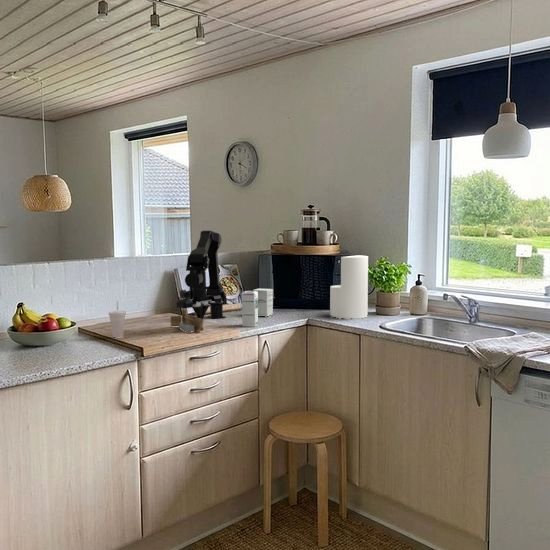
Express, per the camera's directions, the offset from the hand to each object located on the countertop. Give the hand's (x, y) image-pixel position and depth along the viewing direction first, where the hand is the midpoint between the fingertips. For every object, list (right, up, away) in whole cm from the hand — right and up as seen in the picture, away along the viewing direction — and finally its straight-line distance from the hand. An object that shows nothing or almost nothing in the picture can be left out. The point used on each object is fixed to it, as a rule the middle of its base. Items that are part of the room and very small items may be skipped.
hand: (200, 322), depth 227 cm
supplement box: (+25, 0, +37) cm, 44 cm away
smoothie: (-29, -5, -15) cm, 33 cm away
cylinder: (+64, 0, +35) cm, 73 cm away
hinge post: (-10, -3, +7) cm, 12 cm away
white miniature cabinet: (+20, -2, +10) cm, 22 cm away
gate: (-3, -3, 0) cm, 4 cm away
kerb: (-5, -3, -2) cm, 6 cm away
